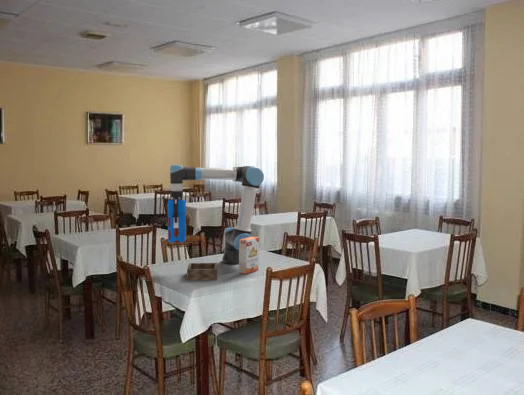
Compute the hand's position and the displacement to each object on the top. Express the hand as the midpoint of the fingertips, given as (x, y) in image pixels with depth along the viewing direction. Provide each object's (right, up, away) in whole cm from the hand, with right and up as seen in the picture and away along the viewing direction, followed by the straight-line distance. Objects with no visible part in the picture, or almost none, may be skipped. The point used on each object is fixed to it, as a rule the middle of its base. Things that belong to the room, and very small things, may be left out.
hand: (176, 226), depth 312 cm
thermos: (0, -9, +1) cm, 9 cm away
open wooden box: (+17, -29, -8) cm, 34 cm away
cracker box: (+44, -28, +4) cm, 52 cm away
